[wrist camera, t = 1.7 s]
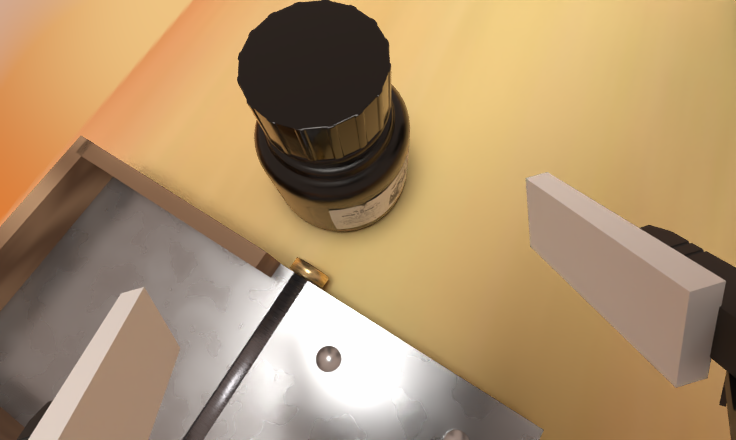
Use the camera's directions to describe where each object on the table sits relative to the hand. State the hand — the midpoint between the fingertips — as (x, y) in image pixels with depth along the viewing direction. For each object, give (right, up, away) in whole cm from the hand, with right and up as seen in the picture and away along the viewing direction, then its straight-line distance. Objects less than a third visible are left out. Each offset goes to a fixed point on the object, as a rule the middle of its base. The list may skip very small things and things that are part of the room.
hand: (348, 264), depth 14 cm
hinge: (-7, -9, +11) cm, 16 cm away
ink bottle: (-1, +5, +16) cm, 16 cm away
